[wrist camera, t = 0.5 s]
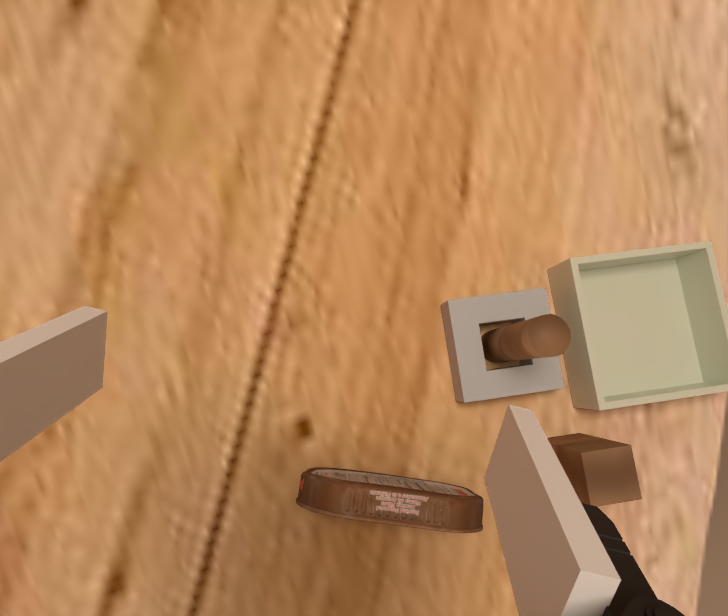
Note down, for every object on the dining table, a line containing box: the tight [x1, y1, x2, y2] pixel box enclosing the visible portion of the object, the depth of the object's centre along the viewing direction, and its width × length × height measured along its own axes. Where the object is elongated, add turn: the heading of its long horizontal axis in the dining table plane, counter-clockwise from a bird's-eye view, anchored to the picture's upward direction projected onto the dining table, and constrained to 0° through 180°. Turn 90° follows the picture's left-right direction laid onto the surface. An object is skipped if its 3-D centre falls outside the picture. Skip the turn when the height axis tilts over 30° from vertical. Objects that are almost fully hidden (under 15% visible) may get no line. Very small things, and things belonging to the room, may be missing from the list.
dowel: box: [481, 314, 571, 362], centre depth 40 cm, size 3×3×12 cm
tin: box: [296, 468, 483, 533], centre depth 40 cm, size 15×3×8 cm, turn 82°
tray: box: [548, 241, 728, 411], centre depth 45 cm, size 13×13×5 cm
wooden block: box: [547, 433, 642, 506], centre depth 41 cm, size 4×4×8 cm
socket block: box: [441, 288, 564, 403], centre depth 45 cm, size 9×9×3 cm
